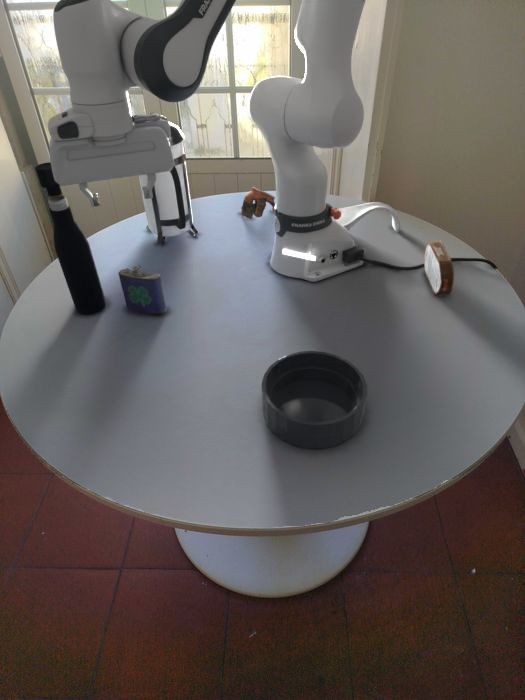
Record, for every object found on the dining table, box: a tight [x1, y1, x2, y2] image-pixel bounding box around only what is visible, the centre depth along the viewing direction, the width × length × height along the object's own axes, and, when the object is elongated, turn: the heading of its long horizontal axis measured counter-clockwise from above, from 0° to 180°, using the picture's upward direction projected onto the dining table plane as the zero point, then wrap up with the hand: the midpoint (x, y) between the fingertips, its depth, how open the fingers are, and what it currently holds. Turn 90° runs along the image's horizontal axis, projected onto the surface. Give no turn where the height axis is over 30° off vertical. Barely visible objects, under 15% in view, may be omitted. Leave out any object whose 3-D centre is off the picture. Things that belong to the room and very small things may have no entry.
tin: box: [423, 239, 455, 296], centre depth 102 cm, size 15×3×8 cm, turn 178°
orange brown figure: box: [240, 186, 276, 220], centre depth 133 cm, size 12×10×8 cm
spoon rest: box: [332, 201, 401, 232], centre depth 123 cm, size 24×12×7 cm, turn 93°
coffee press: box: [138, 112, 199, 245], centre depth 117 cm, size 17×16×30 cm
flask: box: [118, 264, 168, 316], centre depth 96 cm, size 9×3×11 cm, turn 74°
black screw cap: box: [261, 350, 368, 449], centre depth 75 cm, size 16×16×6 cm
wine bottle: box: [34, 161, 107, 316], centre depth 92 cm, size 6×6×30 cm
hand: (122, 201), depth 85 cm, fingers open, 8 cm apart
